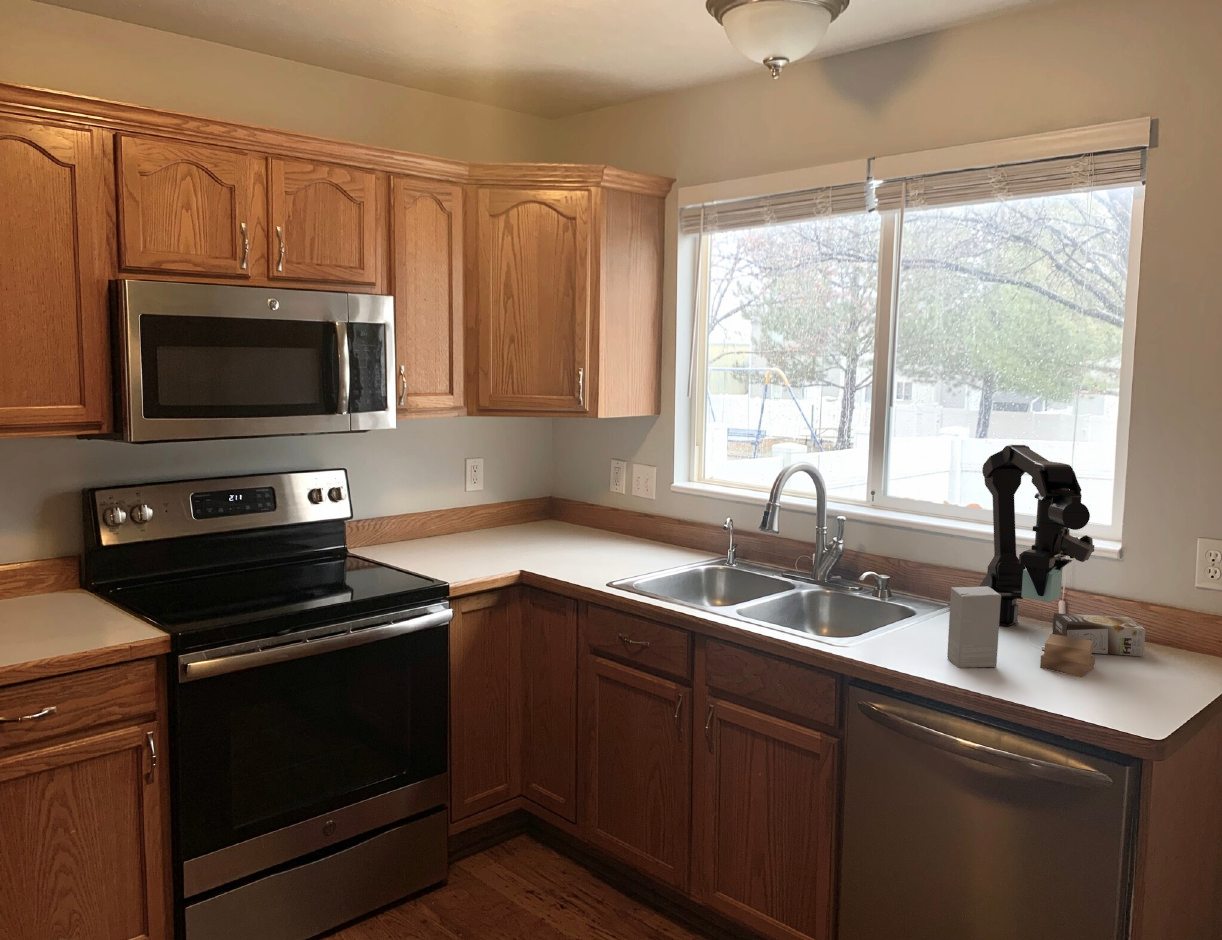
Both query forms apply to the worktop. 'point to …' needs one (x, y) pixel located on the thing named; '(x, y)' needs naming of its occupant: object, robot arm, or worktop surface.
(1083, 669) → the tower base
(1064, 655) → the tower top
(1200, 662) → the worktop surface
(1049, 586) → the teal cube
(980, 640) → the skincare box
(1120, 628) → the coffee box
